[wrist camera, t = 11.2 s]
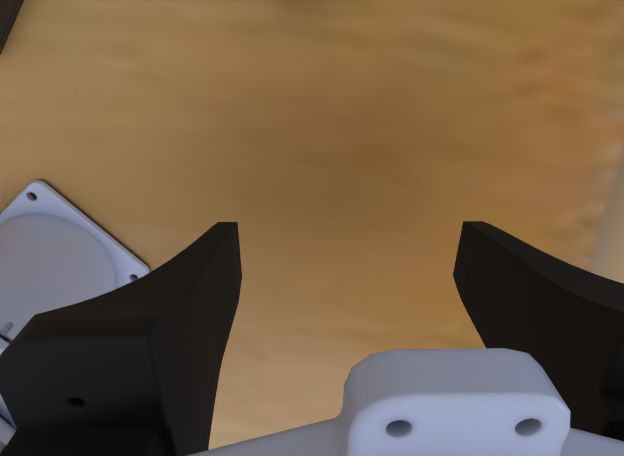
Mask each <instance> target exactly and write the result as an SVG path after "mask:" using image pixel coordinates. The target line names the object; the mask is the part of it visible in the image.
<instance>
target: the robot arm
mask: <svg viewBox="0 0 624 456" xmlns="http://www.w3.org/2000/svg"><path fill="white" fill-rule="evenodd" d="M31 192H32V193H34V194H35V195H36V197H37V198H35V197H33V196H32V195H31ZM132 274H134V275H137V276H138V278H135V277H133V276H132ZM453 277H454V280H455V283H456V286H457V289H458V292H459V295H460V298H461V300H462V302H463V304H464V307H465V308H466V310H467V312H468V314H469V316H470V318H471V320H472V322H473V324H474V326H475V328H476V330H477V331H478V333H479V335H480V337H481V339H482V341H483V343H484V345H485V346H486V348H481V349H394V350H389V351H384V352H379V353H375V354H371V355H369V356H368V357H366V358H365V359H364V360H362V361H361V362H359V363H358V364H357V365H355V366H354V367H352V368H351V371H350V373H349V375H348V378H347V380H346V382H345V384H344V396H343V406H342V410H341V413H340V414H339V416H337V417H336V418H333V419H329V420H325V421H321V422H317V423H313V424H309V425H305V426H301V427H297V428H293V429H289V430H285V431H281V432H278V433H274V434H270V435H266V436H262V437H258V438H254V439H250V440H246V441H242V442H238V443H234V444H230V445H227V446H223V447H219V448H215V449H211V450H208V446H209V438H210V431H211V424H212V417H213V411H214V404H215V397H216V391H217V385H218V379H219V373H220V368H221V363H222V359H223V355H224V352H225V348H226V344H227V341H228V337H229V334H230V330H231V327H232V323H233V320H234V316H235V313H236V309H237V305H238V302H239V295H240V287H241V280H242V271H241V259H240V247H239V235H238V223H237V222H218V223H216V224H215V225H214V226H212V227H211V228H210V229H209V230H208V231H207V232H205V233H204V234H203V235H202V236H201V237H199V238H198V239H197V240H196V241H195V242H193V243H192V244H191V245H190V246H188V247H187V248H186V249H184V250H183V251H182V252H180V253H179V254H177V255H176V256H175V257H173V258H172V259H171V260H169V261H168V262H166V263H165V264H163V265H162V266H160V267H158V268H157V269H155V270H153V271H152V272H150V270H149V268H148V267H147V266H146V265H145V264H144V263H143V262H141V261H140V260H139V259H138V258H137V257H135V256H134V255H133V254H132V253H131V252H129V251H128V250H127V249H126V248H124V247H123V246H122V245H121V244H120V243H118V242H117V241H116V240H115V239H113V238H112V237H111V236H110V235H109V234H107V233H106V232H105V231H104V230H102V229H101V228H100V227H99V226H98V225H96V224H95V223H94V222H93V221H91V220H90V219H89V218H88V217H87V216H85V215H84V214H83V213H82V212H81V211H79V210H78V209H77V208H76V207H74V206H73V205H72V204H71V203H70V202H68V201H67V200H66V199H65V198H63V197H62V196H61V195H60V194H59V193H57V192H56V191H55V190H54V189H52V188H51V187H50V186H49V185H48V184H46V183H45V182H43V181H40V180H35V181H33V182H32V183H30V184H29V185H28V186H27V187H26V188H25V189H24V190H23V191H22V192H21V193H20V194H19V195H18V196H17V197H16V198H15V199H14V200H13V201H12V203H11V204H10V205H9V206H8V207H7V208H6V209H5V210H4V211H3V212H2V213H1V214H0V456H624V284H623V283H619V282H616V281H613V280H610V279H607V278H604V277H601V276H599V275H596V274H593V273H591V272H588V271H586V270H583V269H580V268H578V267H575V266H573V265H571V264H568V263H566V262H564V261H562V260H559V259H557V258H555V257H553V256H551V255H549V254H547V253H545V252H543V251H541V250H539V249H537V248H535V247H533V246H531V245H529V244H527V243H525V242H523V241H521V240H519V239H518V238H516V237H514V236H512V235H510V234H508V233H506V232H504V231H502V230H501V229H499V228H497V227H495V226H492V225H490V224H488V223H485V222H482V221H465V222H463V226H462V231H461V236H460V241H459V246H458V251H457V257H456V262H455V267H454V272H453Z"/></svg>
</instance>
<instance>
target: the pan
mask: <svg viewBox="0 0 624 456" xmlns="http://www.w3.org/2000/svg"><path fill="white" fill-rule="evenodd" d="M22 2H23V0H0V53H1V51H2V49H3V46H4V44H5V42H6V39H7V37H8V35H9V32H10V30H11V28H12V25H13V23H14V21H15V18H16V16H17V14H18V11H19V9H20V7H21V4H22Z"/></svg>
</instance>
